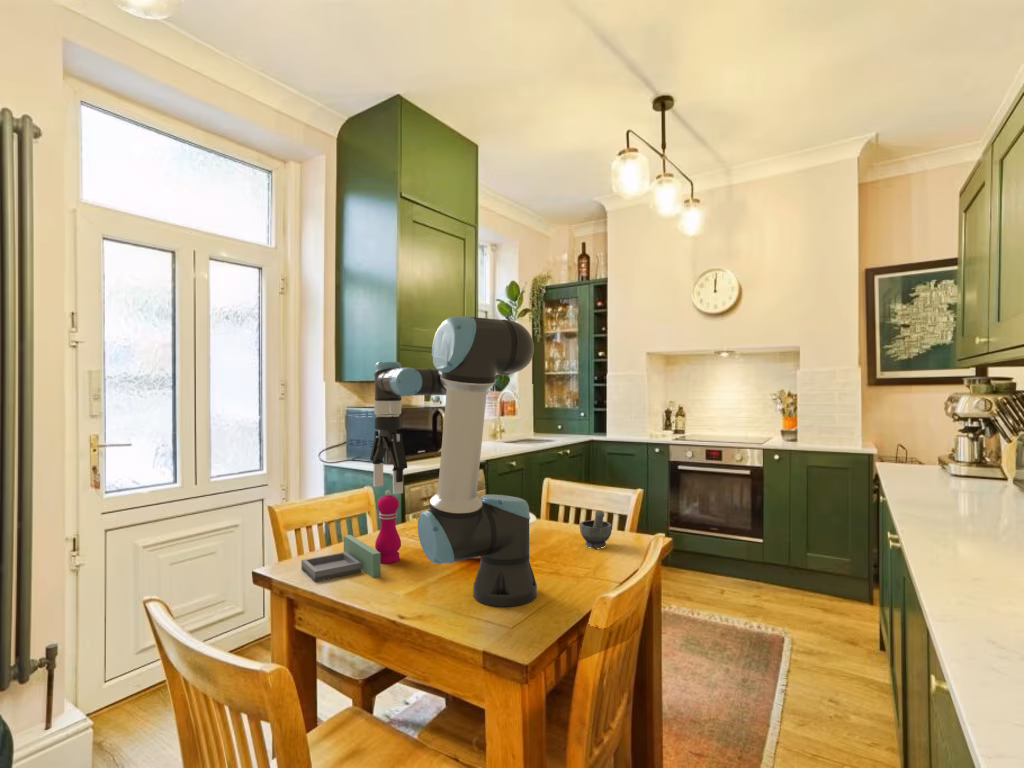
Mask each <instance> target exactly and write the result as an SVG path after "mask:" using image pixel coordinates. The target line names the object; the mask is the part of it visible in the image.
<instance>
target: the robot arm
mask: <svg viewBox="0 0 1024 768" xmlns="http://www.w3.org/2000/svg"><path fill="white" fill-rule="evenodd" d="M433 337H434V338H433V341H432V347H431V357H432V364H433V366H434V368H425V367H424V368H423V367H422V368H419V367H416V368H415V367H405V366H404V367H403V366H402V364H401V362H399V361H377V362H376V363H375V366H374V373H373V376H374V401H373V402H374V404H373V406H374V408H373V409H374V410H373V411H374V415H375V417H374V430H375V431H374V437H373V438H374V439H373V444H372V446H371V447H372V448H371V453H370V458H369V460H370V461H371V462H372V464H373V485H372V486H373V487H374V488H375V487H383V486H384V463H385V462H384V457H385V455H386V453H387V451H388V452H389V456H390V460H391V462H392V465H393V468H392V469H391V470H392V471H391V472H392V495H399V494H404V470H405V469H408V463H407V458H406V453H405V447H404V441H403V434H402V433H397V430H401V429H402V416H400V415H401V414H402V407H403V403H402V399H403V398H402V397H411V396H414V397H415V396H445V405H444V417H443V427H442V428H443V429H442V437H441V438H442V441H441V451H440V452H441V453H440V463H439V472H438V473H439V474H438V484H437V492H436V493H435V494H433V495H432V496H431V497H430V499H429V509H427V510H424V511H421V512H420V513H419V516H418V517H417V535H418V539H419V540H418V541H419V544H420V546H421V549H422V550H423V553H424V555H425V557H426V558H427V559H428V560H429V561H430V562H431V563H433V564H435V565H442V564H453V563H455V562H458V561H463V560H469V559H474V558H478V557H480V562H479V567H478V569H477V572H476V575H475V576H476V577H475V581H474V582H473V587H472V589H473V591H472V593H473V595H472V596H473V598H474V599H475V600H476V601H477V602H479V603H481V604H484V605H487V606H493V607H516V606H521V605H525V604H528V603H530V602H532V601H534V600H535V599H536V597H538V596H537V595H538V584H537V581H536V577H535V574H534V571H533V568H532V565H531V561H530V520H531V516H530V506H529V503H528V501H527V500H525V499H523V498H520V497H518V496H516V497H515V496H511V495H506V494H484V495H481V496H480V497H479V496H478V495H477V494H478V485H479V477H480V474H479V473H480V464H481V455H482V446H483V445H482V443H483V435H484V425H485V424H484V422H485V413H486V403H487V395H488V394H487V393H488V389H490V388H491V387H492V386H494V385H495V382H496V376H498V375H501V376H510V375H512V374H515V373H517V372H521V371H522V370H524V369H525V368H526V367H528V366H529V365H530V363H531V361H532V358H533V356H534V352H535V344H534V340H533V337H532V336H531V333H530V332H529V331H528V329H527V328H525V326H523V325H522V324H520V323H519V322H517V321H514V320H510V319H498V318H497V319H496V318H488V317H478V316H477V317H476V316H470V315H468V316H467V315H466V316H465V315H464V316H461V315H457V316H450V317H447V318H446V319H445V320H443V321H441V323H440V325H439V326H438V327H437V330H436V332H435V333H434V336H433Z"/></svg>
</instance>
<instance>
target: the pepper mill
mask: <svg viewBox="0 0 1024 768" xmlns="http://www.w3.org/2000/svg"><path fill="white" fill-rule="evenodd" d="M376 505H377V510H379V512H378V514H379V516H378V518H379V519H380V529H379V532H378V534H377V537H376V540H375V546H374V547H375V548H374V549H375V550H377V551H378V552H380V564H394V563H396V561H397V562H398V561H400V552H399V550H400V549H401V547H402V540H401V537H400V535H399V533H398V530H397V525H396V518H398V512H397V510H398V509H399V506H400V501H399V500H398V498H397V497H396V496H394V495H393V494H392V491H391V490H390V489H387V490H385V491H384V495H383V496H381V497H380V498H378V501H377V503H376ZM393 562H394V563H393Z"/></svg>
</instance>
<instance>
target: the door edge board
mask: <svg viewBox="0 0 1024 768" xmlns="http://www.w3.org/2000/svg"><path fill="white" fill-rule="evenodd" d="M343 552H346V553H348V554H349V555H350V556H352V557H353V558H355V559H356V560H358V561H359V562H361V571H364V573H366V574H368V575H369V576H370V577H371V578H377V576H378V577H381V563H380V552H378V551H377V550H376V548H373V547H372V546H370V545H369V544H367V543H365V542H363V541H362V540H360V539H358V538H357V537H355V536H354V535H352V534H347V535H343Z"/></svg>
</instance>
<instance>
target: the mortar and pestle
mask: <svg viewBox="0 0 1024 768" xmlns="http://www.w3.org/2000/svg"><path fill="white" fill-rule="evenodd" d="M594 515H595V517H594V519H593V520H592V519H591V520H584V521H582V522H580V523H579V532H580V535H581V536H582V538H583V539H584V540H585V546H586V545H587V546H588V547H591V548H601V547H604V546H605V545H606V542H607V541H608V540H609V539H610V537H611V534H612V528H613V524H611V523H610V522H608V521H606V520H604V517H605V513H604V511H603V510H596V511H595V512H594ZM606 546H607V545H606Z"/></svg>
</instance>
